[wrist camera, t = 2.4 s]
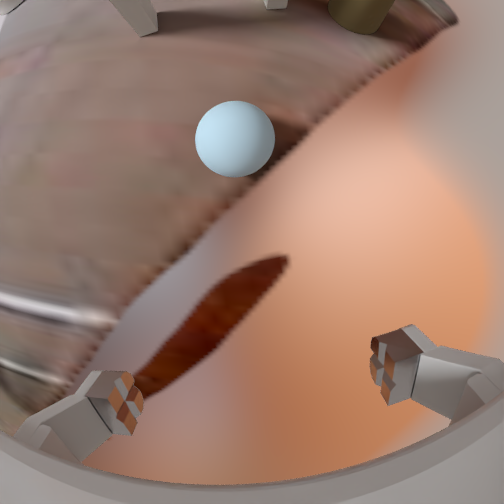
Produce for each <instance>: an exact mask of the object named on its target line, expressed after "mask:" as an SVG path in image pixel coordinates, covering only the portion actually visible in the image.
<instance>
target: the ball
mask: <svg viewBox="0 0 504 504" xmlns="http://www.w3.org/2000/svg"><path fill="white" fill-rule="evenodd" d="M195 143H196V149H197V152H198V155H199V157H200V158H201V160H202V161H203V163H204V164H205V165H206V166H207V167H208V168H209V169H211V170H212V171H214V172H215V173H217V174H220V175H223V176H227V177H243V176H246V175H249V174H252V173H254V172H256V171H257V170H259V169H260V168H261V167H262V166H263V165H265V163H266V162H267V161H268V159H269V158H270V156H271V154H272V152H273V148H274V144H275V133H274V129H273V125H272V123H271V121H270V120H269V118H268V117H267V115H266V114H265V113H264V112H263V111H262V110H261V109H259V108H258V107H256V106H254V105H253V104H250V103H247V102H243V101H229V102H224V103H221V104H219V105H217V106H215V107H213V108H212V109H210V110H209V111H208V112H207V113H206V114H205V115H204V116H203V117H202V119H201V121H200V122H199V125H198V127H197V130H196V136H195Z"/></svg>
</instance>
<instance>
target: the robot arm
mask: <svg viewBox="0 0 504 504" xmlns="http://www.w3.org/2000/svg"><path fill="white" fill-rule="evenodd" d="M22 1H23V0H0V15H1V16H2V15H5V14H7V13H9V12H10V11H11V10H13V9H14V8H15V7H17V6H18V5H19V4H20V3H21V2H22ZM371 349H372V351H373V352H374V354H373V355H372V357H371V358H370V372H371V375H372V379H373V380H374V382H375V384H376V385H379V386H381V395H382V396H383V398H384V400H385V402H386V403H387V405H388V406H389V405H392V404H395V403H398V402H401V401H403V400H406V399H409V398H411V399H412V400H414V401H416V402H418V403H420V404H422V405H424V406H426V407H428V408H430V409H431V410H433V411H435V412H437V413H439V414H441V415H443V416H445V417H447V418H449V419H451V422H450V424H449V426H448V427H447V428H445V429H443V430H441V431H439V432H437V433H435V434H433V435H431V436H429V437H427V438H425V439H423V440H421V441H419V442H416V443H414V444H412V445H410V446H407V447H405V448H402V449H400V450H398V451H395V452H393V453H390V454H387V455H384V456H382V457H379V458H376V459H373V460H370V461H367V462H364V463H361V464H357V465H354V466H350V467H347V468H343V469H339V470H336V471H332V472H327V473H323V474H318V475H313V476H308V477H302V478H296V479H290V480H283V481H275V482H266V483H256V484H236V485H199V484H181V483H170V482H161V481H153V480H146V479H140V478H134V477H129V476H124V475H119V474H114V473H110V472H106V471H102V470H98V469H94V468H91V467H87V466H84V465H83V464H82V463H81V461H83V460H84V459H85V458H86V457H87V456H89V455H90V454H91V453H92V452H93V451H94V450H95V449H97V448H98V447H99V446H100V445H101V444H103V443H104V442H105V441H106V440H107V439H108V438H109V437H111V436H112V434H120V435H130V436H132V434H133V432H134V430H135V427H136V425H137V420H136V418H137V417H138V416H139V415H141V413H142V410H143V404H144V401H143V397H142V394H141V392H140V390H139V389H137V388H136V387H135V386H134V385H133V384H134V379H133V377H132V375H131V373H129V372H127V371H101V370H95V371H92V372H91V373H90V374H89V376H88V377H87V378H86V380H85V381H84V382H83V383H82V385H81V386H80V388H79V389H78V390H77V391H76V393H75V394H74V395H70V396H68V397H66V398H64V399H62V400H60V401H59V402H57V403H55V404H53V405H51V406H49V407H47V408H45V409H43V410H42V411H40V412H38V413H36V414H34V415H32V416H30V417H28V418H27V419H26V420H25V421H24V423H23V424H22V425H21V427H20V428H19V429H18V431H17V432H16V433H15V435H14V436H13V437H12V436H10V435H8V434H6V433H5V432H3V431H1V430H0V504H504V363H503V362H502V361H501V360H500V359H497V358H492V357H487V356H483V355H478V354H474V353H470V352H466V351H461V350H457V349H453V348H449V347H445V346H439V347H437V346H436V345H435V344H434V343H433V342H432V341H431V340H430V339H429V338H428V337H427V336H426V335H424V333H422V332H421V331H420V330H419V329H418V328H417V327H416V326H415V325H412V324H411V325H408V326H405V327H403V328H400V329H398V330H395V331H392V332H389V333H386V334H382V335H379V336H375V337H372V340H371Z"/></svg>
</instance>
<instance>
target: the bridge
mask: <svg viewBox="0 0 504 504" xmlns="http://www.w3.org/2000/svg"><path fill="white" fill-rule="evenodd" d="M109 1H110V2H111V3H112V4H113V5H114V6H115V8H116V9H117V10H118V11H119V12H120V14H121V15H122V16H123V17H124V18H125V20H126V21H127V22H128V23H129V24H130V26H131V27H132V28H133V29H134V30H135V32H136V33H137V34H138V35H139V37H142V36H145V35H148V34H150V33H153V32H156V31H158V22H157V12H156V10H155V9H154V7H153V5H152V3H151V2H150V0H109ZM264 3H265V6H266V9H284V8H286V7H287V3H288V0H264Z"/></svg>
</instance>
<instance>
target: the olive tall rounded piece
mask: <svg viewBox="0 0 504 504" xmlns="http://www.w3.org/2000/svg"><path fill="white" fill-rule="evenodd" d="M394 1H395V0H330V1H329V3H328V11H329V13H330V15H331V16H332V18H333V19H334V20H335V21H336V22H337V23H338V24H339V25H341V26H342V27H344V28H345V29H347V30H350V31H352V32H354V33H358V34H372V33H374V32H376V31H377V29H378V28H379V27H380V25H381V23H382V21H383V20H384V18H385V16H386V15H387V13H388V11H389V10H390V8H391V6H392V4H393V3H394Z"/></svg>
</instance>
